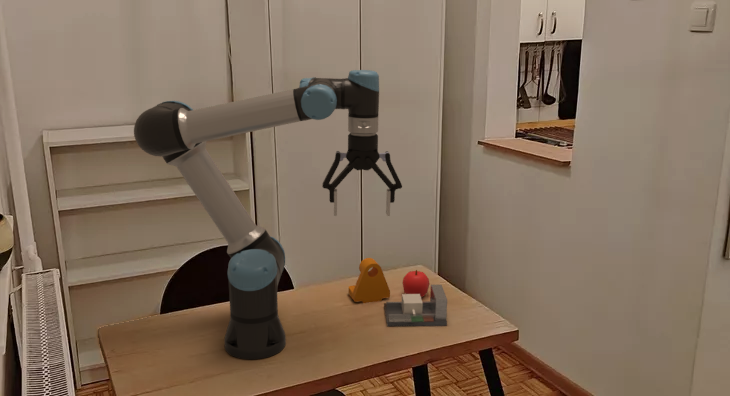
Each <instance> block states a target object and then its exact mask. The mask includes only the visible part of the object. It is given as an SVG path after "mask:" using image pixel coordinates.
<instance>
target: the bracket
mask: <svg viewBox="0 0 730 396" xmlns="http://www.w3.org/2000/svg"><path fill="white" fill-rule="evenodd" d="M358 269H359V272H360V273H359V275H358V278H357V281H356V283H355V284H354V285H349V286H348V295H349V296H350V298H351V299H352V300H353V302H355V303H357V302H362V303H363V304H367V303H376V302H382V300H383V299H389V298H391V290H390V287H389V285H388V282H387V280H386V277H385V274H384V272H383V270H382V267H381V266H380V264H379V263H378V262H377V261H376V260H375V258H372V257H366V258H364V259H362V260H361V262H360V263H359V266H358Z"/></svg>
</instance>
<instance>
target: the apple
mask: <svg viewBox="0 0 730 396" xmlns="http://www.w3.org/2000/svg"><path fill="white" fill-rule="evenodd" d="M402 287H403V292H404V294H420V296H421V298H423V297H424V296H426V294H428V291H429V287H430V279H429V278H428V276H427V275H426V274H425V272H424V271H420V270H418V269H416V270H412V271H408V272H407V273H406V274H405V276H404V277H403V279H402Z"/></svg>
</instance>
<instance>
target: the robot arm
mask: <svg viewBox="0 0 730 396" xmlns="http://www.w3.org/2000/svg"><path fill="white" fill-rule="evenodd" d="M379 105H380V75H379V73H378V72H377V71H375V70H369V69H358V70H357V69H353V70H350V71H348V76H347V77H345V78H333V77H332V78H330V77H329V78H328V77H327V78H326V77H325V78H324V77H322V78H321V77H314V76H313V77H304V78H302V79H300V80H299V87H297V88H293V89H287V90H283V91H278V92H274V93H268V94H264V95H257V96H254V97H249V98H244V99H240V100H236V101H231V102H230V101H229V102H226V103H225V102H224V103H221V104H217V105H211V106H207V107H202V108H198V109H197V108H196V109H194V108H192V107H191V106H190V105H188V104H187V103H185V102H183V101H179V100H166V101H162V102H161V103H158V104H156V105H155V106H153V107H150V108H148V109H146V110H145V111H143V112H142V113H140V115H139V116H138V117H137V119H136V121H135V123H134V127H133V136H134V140H135V142H136V144H137V145H138V147H139V148H140V149H141V150H142V151H143V152H145V153H147V154H148V155H150V156H152V157H153V156H154V157H159V158H160V157H161V158H162V159H163V160H164V162H165V163H166V165H168V166H174V167H176V168H177V170H178V171H179V172H180V175H181V176H182V177H183V179H184V180H185V182H186V183H187V185H188V186H189V188H190V189H191V190H192V192H193V193H194V195H195V196H196V198H197V199H198V201H199V203H200V204H201V205H202V207H203V209H204V210H205V211H206V213H207V215H208V216H209V218H210V219H211V220H212V222H213V223H214V225H215V226H216V227H217V229H218V231H219V232H220V234H221V235H222V237H223V238H224V239H225V241H226V242H227V244H228V245H227V249H226V253H227V255H228V256H229V258H230V260H229V262H228V265H227V266H228V268H227V272H226V273H227V279H228V292H229V293H228V294H229V295H228V296H229V298H228V299H229V313H230V315H229V316H230V318H229V322H228V326H227V329H226V332H225V336H224V349H225V351H226V353H227V354H229V355H230V356H232V357H235V358H237V359H242V360H260V359H265V358H269V357H273V356H274V355H277V354H279V353H280V352H281V351H283V349H284V348H285V346H286V344H287V343H286V338H287V337H286V332H285V329H284V327H283V325H282V322H281V319H280V317H279V313H278V311H279V309H278V286H279V282H280V279H281V276H282V275H283V274H282V273H283V271H284V269H285V265H286V252H285V249H284V247H283V245H282V244H281V242H280V241H279V240H278V239H277V238H275V237H274V236H271V235H270V234H269V233H268V231H267V229H266V228H265V227H264V226H258V225H257V224H256V223H255V221H254V220H253V219H252V217H251V215H250V214H249V212H248V211H247V209H246V208H245V207H244V205H243V204H242V202H241V200H240V198H239V197H238V196H237V194H236V193H235V191H234V190H233V188H232V187H231V185H230V183H229V182H228V180H227V179H226V177H225V176H224V175H223V172H222V171H221V169H220V168H219V166H218V165H217V163H216V162H215V161H214V159H213V157H212V156H211V154H210V153H209V151H208V149H207V143H208V142H211V141H214V140H215V141H216V140H218V139H223V138H228V137H233V136H237V135H242V134H243V135H244V134H247V133H251V132H252V133H253V132H256V131H262V130H266V129H270V128H274V127H280V126H285V125H289V124H293V123H298V122H299V123H300V122H304V121H309V120H315V121H321V120H325V119H327V118H329V117H331V116H332V115H333V113H334V112H335V110H347V111H348V113H347V114H348V115H347V116H348V117H347V119H348V120H347V131H348V133H349V134H348V135H347V151H346V152H342V151H339V150H336V152H335V156H334V161H333V162H332V164H331V166H330V168H329V170H328V172H327V173H326V176H325V178H324V179H323V182H322V185H321V186H322V188H323V189H326V190H328V192H329V202H330V203H331V204H332V203H333V216H334V217H337V216H338V189H337V187H338V186H339V185H340V184H341V182H343V180H344V179H345V178H346V177H347V176H348V175H349V174H350V173H351V172H352V171H353V170H355V171H362V170H363V171H370V170H371V169H372V170H373V171H374V173H376V175H377V176H378V177H379V178H380V179H381V181H382V182H383V183H384V184H385V186H387V187H388V188H387V189H386V199H385V200H386V204H385V208H386V209H385V214H386V216H387V217H390V216H391V203H393V204H394V203H395V197H396V196H395V194H396V190H398V189H400V190H401V189H402V188H403V184H402V183H401V179H400V178H399V176H398V174H397V171H396V170H395V168H394V165H393V163H392V161H391V154H390V152H389V151H385V152H379V135H378V134H377V133H378V132H379V108H380V107H379ZM345 158H346V160H347V161H348V164H347V165H346V166H345V167H344V169H342V171H341V172H339V174H338V175H337V176H336V177H335V178H334V180H333V181H332V182H331V180H332V178H333V177H334V175H335V173H336V171H337V169H338V167H339V165H340V162H342V161H343V160H344V159H345ZM380 159H381V160H382V161H383V162H385V164H386V166H387V168H388V170H389V172H390V176H392V179H393V180H394V183H393V182H392V181H391V180H390V178H388V177H387V175H386V174H385V173H384V171H382V169H381V168H380V167H379V166H378V164H377V162H378V161H379V160H380ZM330 182H331V183H330Z"/></svg>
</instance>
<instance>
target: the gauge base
mask: <svg viewBox="0 0 730 396" xmlns="http://www.w3.org/2000/svg"><path fill="white" fill-rule="evenodd" d="M429 293H430V296H429V301H426V300H425V301H423V300H422V303H423V307H422V314H416V316H413V314H403V311H402V301H386V302H384V303H383V309H384V316H385V321H386V326H387V327H388V328H389V327H446V326H447V325H448V321H447V314H448V298H447V295H446V293H445V290H444V288H443V284H430V291H429Z"/></svg>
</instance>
